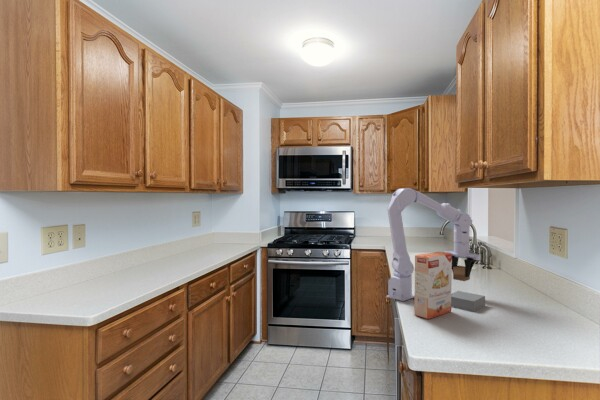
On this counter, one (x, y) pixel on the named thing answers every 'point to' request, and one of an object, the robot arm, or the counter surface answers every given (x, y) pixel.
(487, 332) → the counter surface
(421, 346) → the counter surface
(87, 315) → the counter surface
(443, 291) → the cracker box
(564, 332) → the counter surface
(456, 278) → the walnut block
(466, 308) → the slate block
